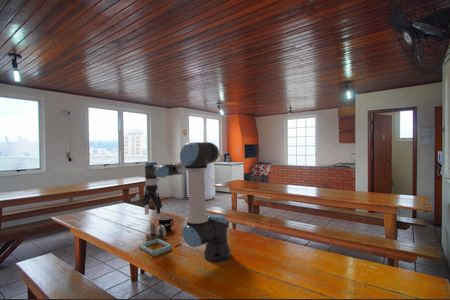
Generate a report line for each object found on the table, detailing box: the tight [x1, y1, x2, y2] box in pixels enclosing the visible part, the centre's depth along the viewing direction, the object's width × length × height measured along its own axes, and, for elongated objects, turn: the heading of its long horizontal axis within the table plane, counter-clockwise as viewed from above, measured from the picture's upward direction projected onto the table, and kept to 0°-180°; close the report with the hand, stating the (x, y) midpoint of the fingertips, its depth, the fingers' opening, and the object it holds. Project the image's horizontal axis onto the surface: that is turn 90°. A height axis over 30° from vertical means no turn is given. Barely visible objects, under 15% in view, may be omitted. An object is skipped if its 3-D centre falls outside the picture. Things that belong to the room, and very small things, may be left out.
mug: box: [158, 215, 174, 233], centre depth 186 cm, size 12×9×10 cm
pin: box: [149, 220, 156, 236], centre depth 167 cm, size 3×3×12 cm
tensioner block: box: [145, 224, 167, 242], centre depth 168 cm, size 8×12×9 cm, turn 137°
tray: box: [138, 239, 173, 258], centre depth 153 cm, size 16×13×3 cm
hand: (152, 216), depth 167 cm, fingers open, 13 cm apart
